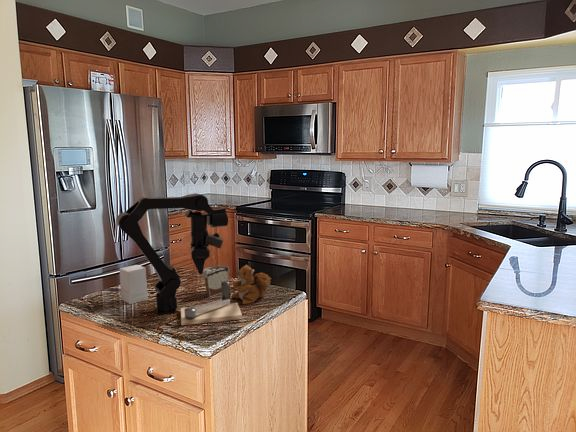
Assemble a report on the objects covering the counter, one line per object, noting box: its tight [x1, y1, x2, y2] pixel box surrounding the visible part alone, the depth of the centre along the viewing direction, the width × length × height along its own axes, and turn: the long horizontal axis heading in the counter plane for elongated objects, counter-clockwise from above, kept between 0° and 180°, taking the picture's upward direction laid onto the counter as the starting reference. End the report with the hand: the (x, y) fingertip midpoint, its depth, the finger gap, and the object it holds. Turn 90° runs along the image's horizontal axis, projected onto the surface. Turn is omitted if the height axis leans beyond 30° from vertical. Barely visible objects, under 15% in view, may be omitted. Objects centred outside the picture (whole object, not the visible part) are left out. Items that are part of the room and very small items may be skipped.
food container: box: [201, 265, 231, 298], centre depth 177 cm, size 12×6×10 cm, turn 141°
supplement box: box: [119, 264, 149, 305], centre depth 170 cm, size 7×7×13 cm
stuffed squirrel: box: [231, 264, 272, 305], centre depth 170 cm, size 10×14×13 cm
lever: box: [184, 280, 231, 319], centre depth 153 cm, size 19×4×8 cm, turn 138°
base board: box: [180, 302, 243, 326], centre depth 154 cm, size 20×12×2 cm, turn 104°
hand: (200, 270), depth 163 cm, fingers open, 9 cm apart
